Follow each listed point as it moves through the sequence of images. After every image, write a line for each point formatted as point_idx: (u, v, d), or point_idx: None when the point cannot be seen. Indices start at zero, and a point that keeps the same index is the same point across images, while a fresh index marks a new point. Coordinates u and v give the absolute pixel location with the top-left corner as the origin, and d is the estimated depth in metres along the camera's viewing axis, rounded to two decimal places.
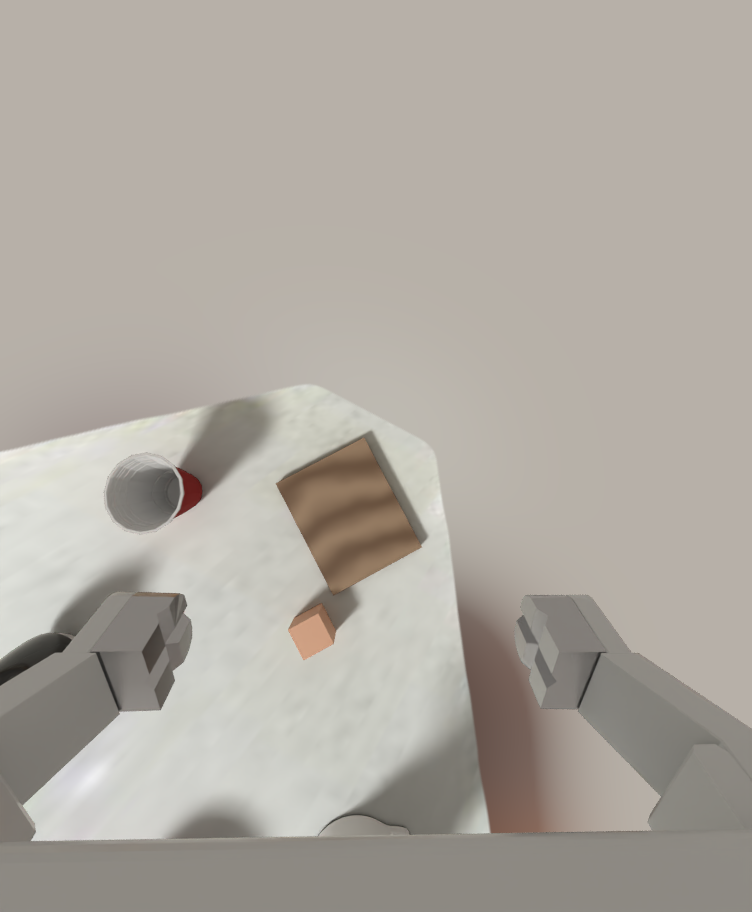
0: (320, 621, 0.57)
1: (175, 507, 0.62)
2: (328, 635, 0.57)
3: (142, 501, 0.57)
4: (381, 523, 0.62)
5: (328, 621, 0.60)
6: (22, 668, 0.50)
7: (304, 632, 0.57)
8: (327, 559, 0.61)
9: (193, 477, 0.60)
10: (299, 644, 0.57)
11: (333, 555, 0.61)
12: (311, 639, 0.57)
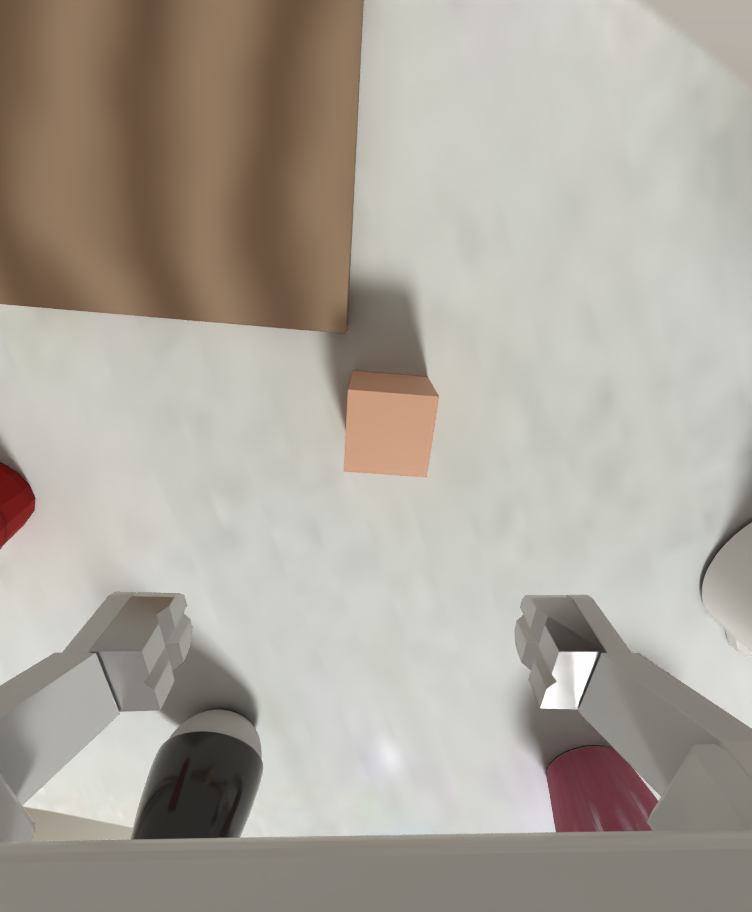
0: (369, 395, 0.21)
1: None
2: (412, 396, 0.21)
3: None
4: (220, 51, 0.18)
5: (394, 379, 0.24)
6: None
7: (370, 443, 0.22)
8: (252, 293, 0.22)
9: None
10: (388, 467, 0.23)
11: (249, 272, 0.22)
12: (396, 437, 0.22)
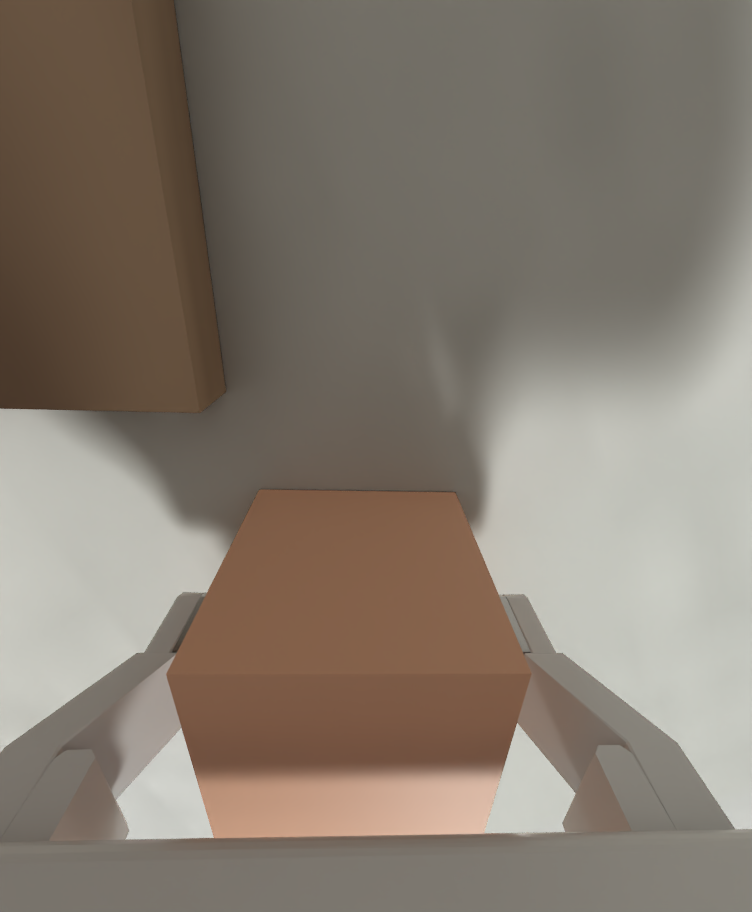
0: (259, 683, 0.05)
1: None
2: (429, 677, 0.05)
3: None
4: None
5: (366, 528, 0.08)
6: None
7: (289, 796, 0.07)
8: None
9: None
10: None
11: None
12: (376, 778, 0.06)
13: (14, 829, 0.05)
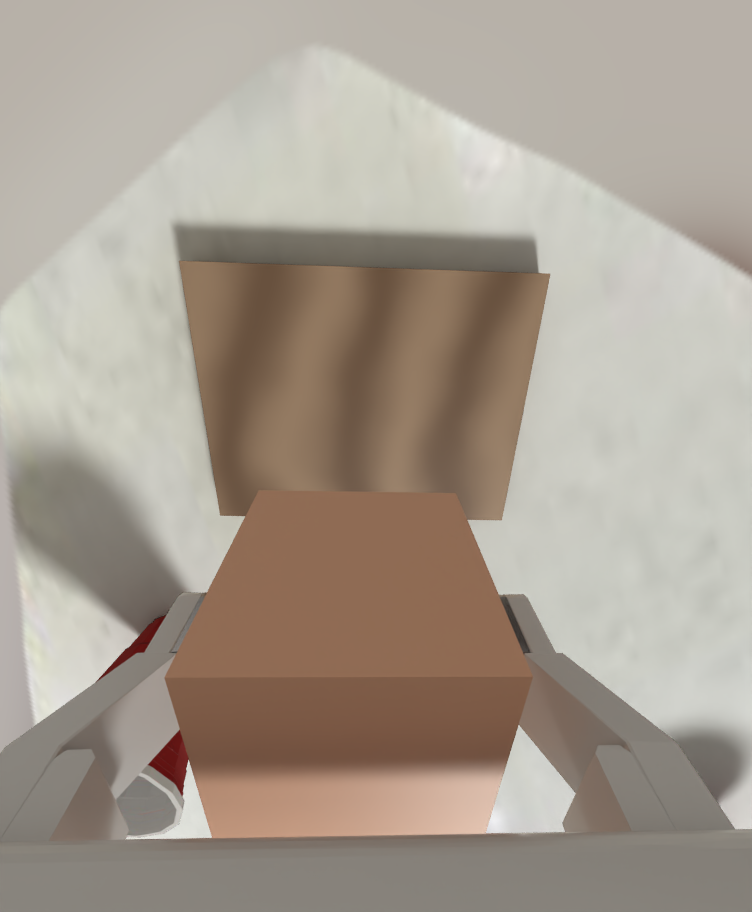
0: (258, 686, 0.05)
1: None
2: (430, 680, 0.05)
3: None
4: (427, 345, 0.22)
5: (366, 529, 0.08)
6: None
7: (288, 799, 0.06)
8: None
9: (147, 636, 0.30)
10: None
11: (428, 484, 0.26)
12: (376, 781, 0.06)
13: (14, 829, 0.05)
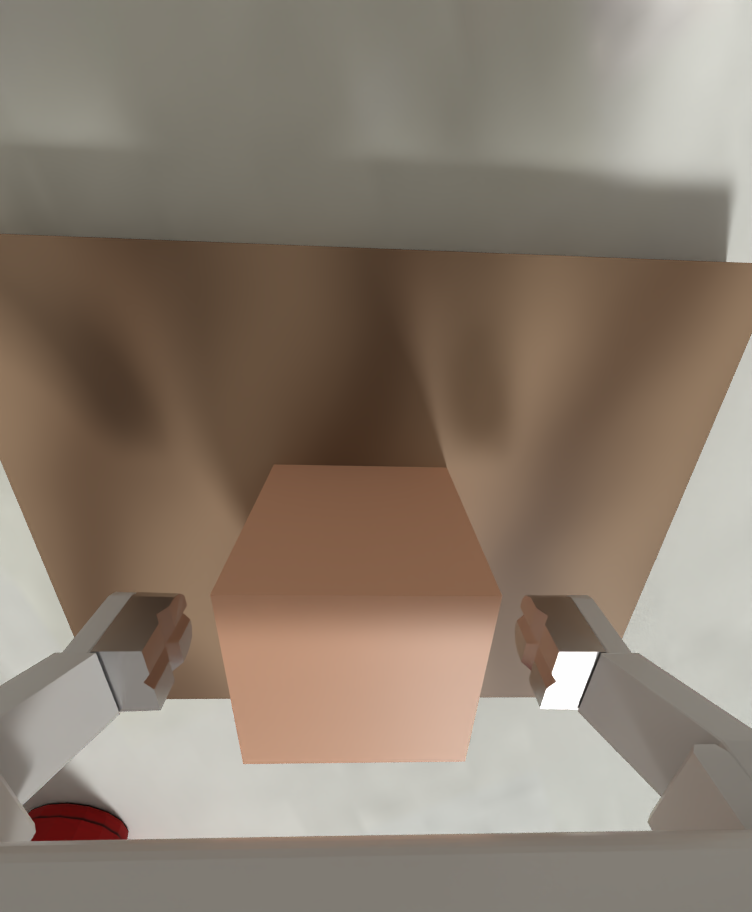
0: (284, 604, 0.07)
1: None
2: (420, 599, 0.07)
3: None
4: (489, 416, 0.11)
5: (368, 494, 0.10)
6: None
7: (305, 708, 0.08)
8: None
9: None
10: (363, 750, 0.08)
11: None
12: (377, 692, 0.08)
13: None
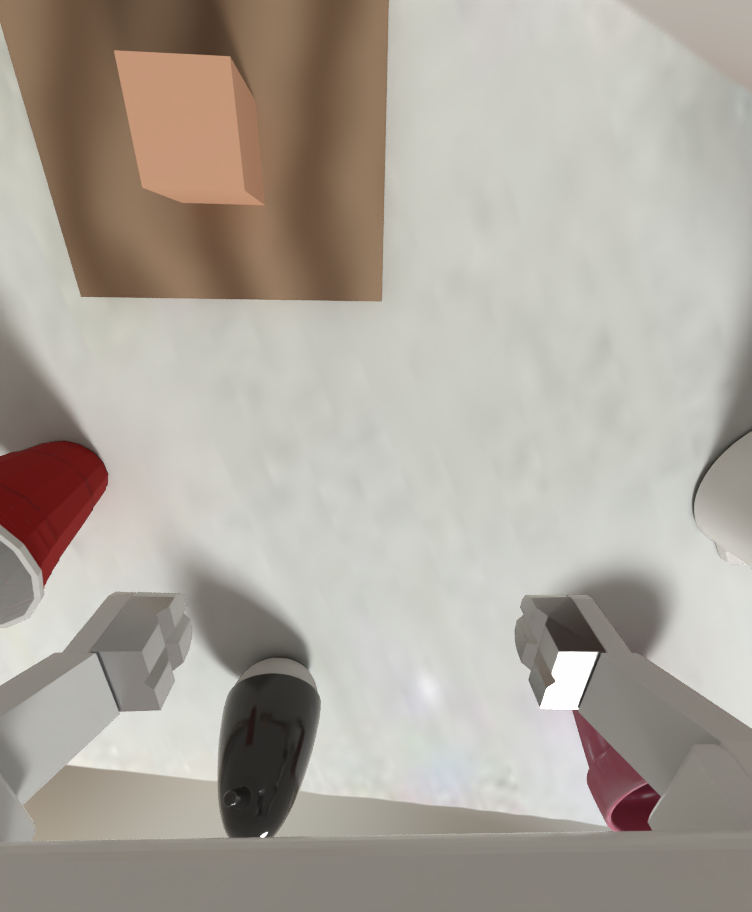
0: (144, 59, 0.17)
1: None
2: (198, 59, 0.17)
3: None
4: (270, 63, 0.21)
5: None
6: (234, 762, 0.34)
7: (163, 139, 0.18)
8: (301, 271, 0.26)
9: (23, 450, 0.29)
10: (195, 177, 0.19)
11: (298, 253, 0.25)
12: (193, 127, 0.18)
13: None
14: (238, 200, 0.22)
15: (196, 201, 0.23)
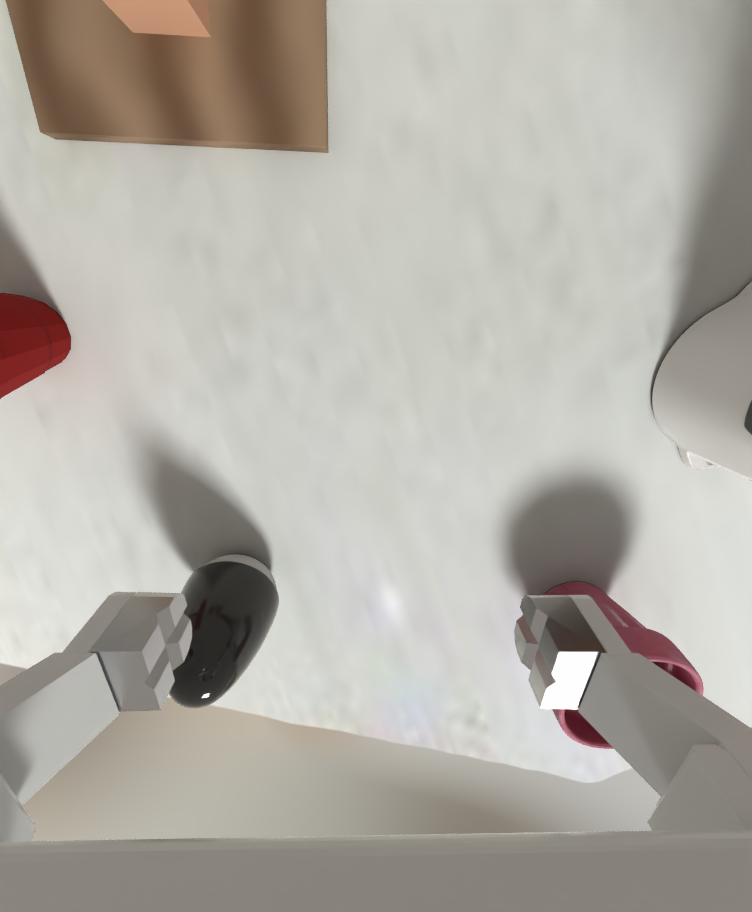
0: None
1: None
2: None
3: None
4: None
5: None
6: None
7: None
8: (247, 110, 0.27)
9: None
10: None
11: (244, 91, 0.26)
12: None
13: None
14: (181, 20, 0.24)
15: (144, 26, 0.24)
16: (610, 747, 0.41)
